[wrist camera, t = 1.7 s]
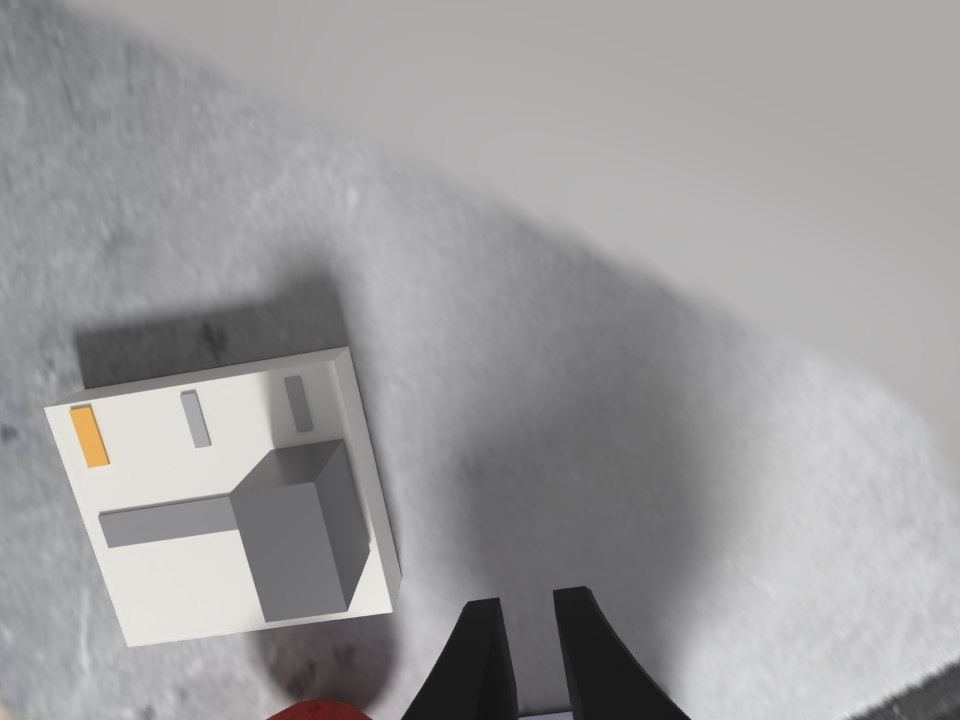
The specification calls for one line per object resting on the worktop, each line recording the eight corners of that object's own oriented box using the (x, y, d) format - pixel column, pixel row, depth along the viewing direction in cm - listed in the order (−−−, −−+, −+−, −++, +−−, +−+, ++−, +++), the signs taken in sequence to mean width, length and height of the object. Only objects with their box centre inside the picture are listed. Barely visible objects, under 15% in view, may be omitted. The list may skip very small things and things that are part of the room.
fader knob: (370, 551, 21) (347, 611, 18) (300, 560, 21) (265, 622, 18) (343, 438, 20) (314, 481, 17) (270, 449, 20) (228, 494, 17)
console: (401, 578, 24) (392, 614, 22) (158, 611, 24) (126, 648, 22) (348, 346, 22) (332, 360, 20) (83, 389, 22) (41, 408, 20)
